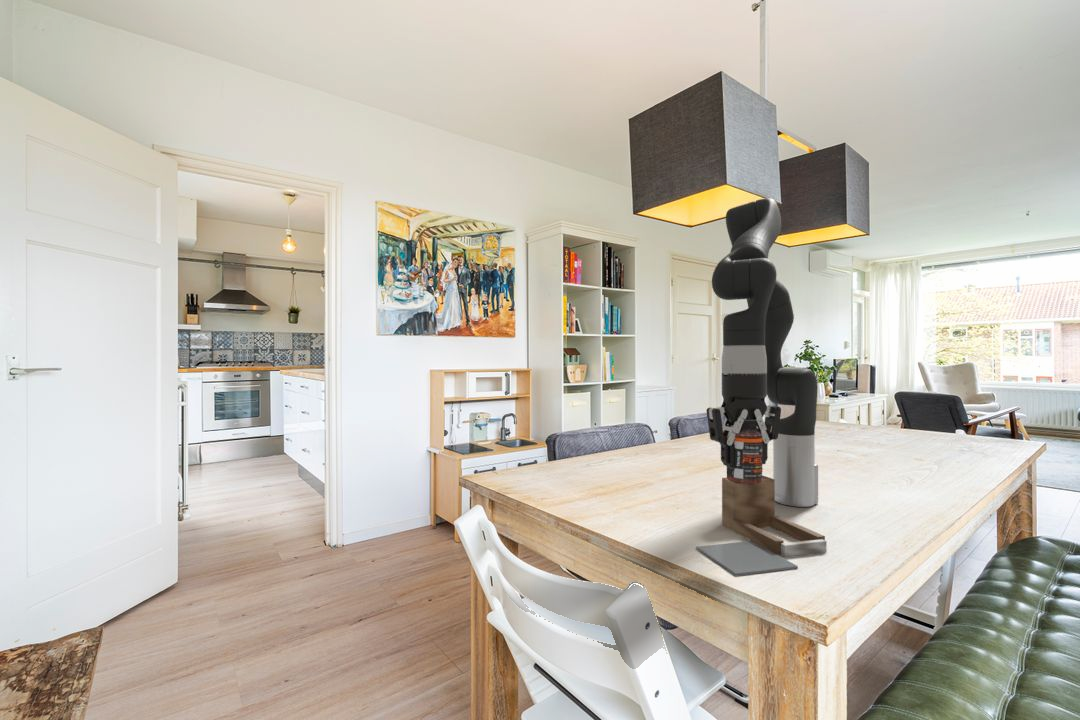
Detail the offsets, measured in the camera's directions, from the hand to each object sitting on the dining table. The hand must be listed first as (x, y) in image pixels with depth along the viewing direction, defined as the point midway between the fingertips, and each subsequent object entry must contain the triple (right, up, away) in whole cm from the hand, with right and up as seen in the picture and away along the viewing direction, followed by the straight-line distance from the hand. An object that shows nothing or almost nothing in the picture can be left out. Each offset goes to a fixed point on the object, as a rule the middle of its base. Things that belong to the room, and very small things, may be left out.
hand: (744, 464), depth 88 cm
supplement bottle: (0, -3, 0) cm, 3 cm away
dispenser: (+10, -17, +11) cm, 22 cm away
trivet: (0, -17, 0) cm, 17 cm away
